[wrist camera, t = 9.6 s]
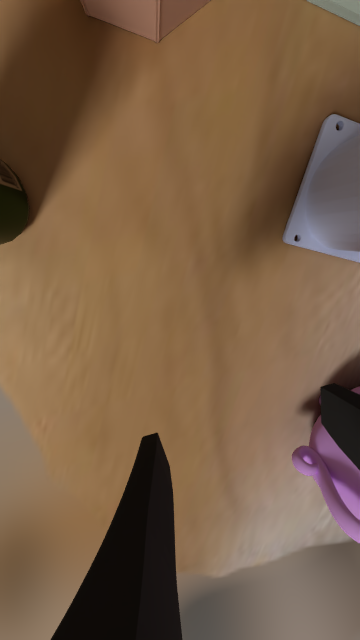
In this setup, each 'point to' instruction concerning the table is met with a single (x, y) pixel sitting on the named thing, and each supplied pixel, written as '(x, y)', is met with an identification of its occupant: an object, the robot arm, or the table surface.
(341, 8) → the mat
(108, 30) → the table surface
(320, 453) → the teapot
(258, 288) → the table surface
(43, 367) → the table surface
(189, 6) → the bowl
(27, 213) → the beer can
